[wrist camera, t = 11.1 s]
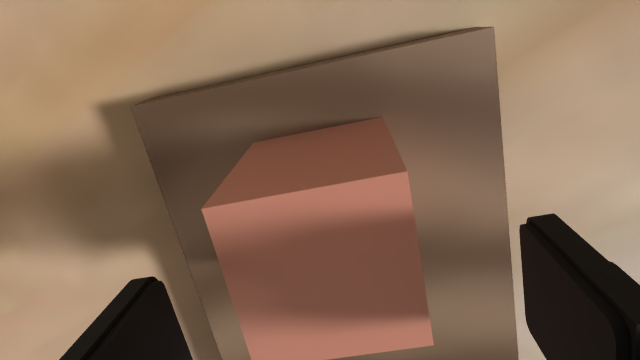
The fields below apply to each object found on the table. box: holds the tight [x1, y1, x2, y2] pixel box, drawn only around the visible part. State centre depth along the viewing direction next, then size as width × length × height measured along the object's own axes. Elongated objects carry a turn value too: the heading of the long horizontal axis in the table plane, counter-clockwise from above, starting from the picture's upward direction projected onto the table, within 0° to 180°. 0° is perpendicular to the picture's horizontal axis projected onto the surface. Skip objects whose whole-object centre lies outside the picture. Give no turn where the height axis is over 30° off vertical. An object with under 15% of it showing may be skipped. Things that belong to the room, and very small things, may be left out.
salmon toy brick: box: [201, 117, 434, 360], centre depth 14 cm, size 5×5×7 cm
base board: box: [130, 27, 518, 360], centre depth 20 cm, size 18×14×2 cm
